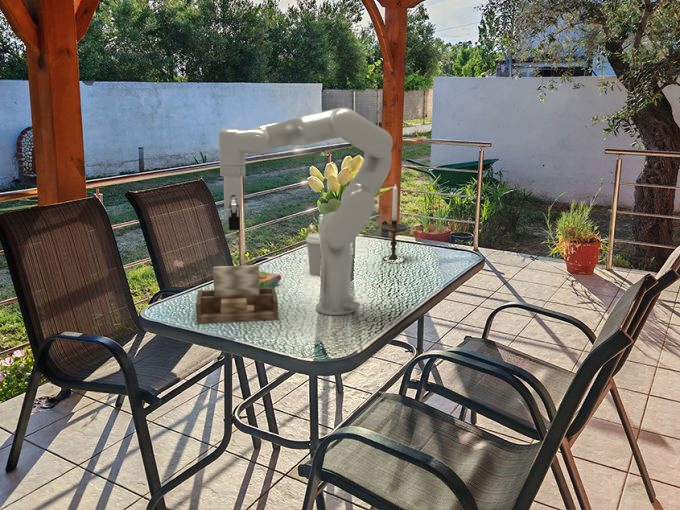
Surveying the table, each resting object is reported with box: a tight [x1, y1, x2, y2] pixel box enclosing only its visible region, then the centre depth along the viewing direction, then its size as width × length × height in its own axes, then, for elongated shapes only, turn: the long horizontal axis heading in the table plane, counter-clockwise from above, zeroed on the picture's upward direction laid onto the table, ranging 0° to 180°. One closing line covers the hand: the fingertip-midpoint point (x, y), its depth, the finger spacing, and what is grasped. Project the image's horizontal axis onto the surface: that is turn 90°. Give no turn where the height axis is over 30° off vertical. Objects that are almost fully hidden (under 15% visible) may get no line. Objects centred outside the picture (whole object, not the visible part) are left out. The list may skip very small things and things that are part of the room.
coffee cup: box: [305, 232, 321, 277], centre depth 248 cm, size 10×10×15 cm
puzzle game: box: [259, 270, 282, 288], centre depth 230 cm, size 12×5×20 cm
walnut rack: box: [195, 286, 279, 325], centre depth 201 cm, size 24×14×7 cm, turn 99°
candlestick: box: [380, 177, 408, 262], centre depth 265 cm, size 11×11×35 cm
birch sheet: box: [212, 264, 260, 296], centre depth 204 cm, size 14×2×14 cm, turn 99°
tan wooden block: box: [221, 298, 254, 315], centre depth 199 cm, size 10×5×5 cm, turn 99°
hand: (234, 226), depth 199 cm, fingers open, 9 cm apart
